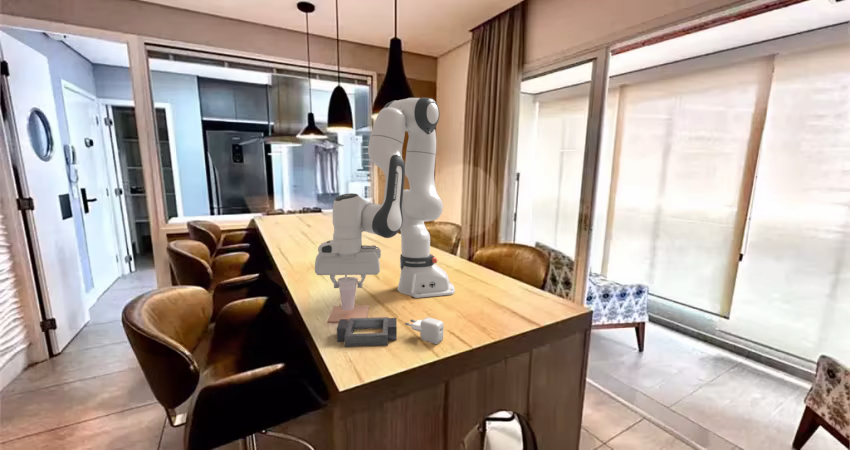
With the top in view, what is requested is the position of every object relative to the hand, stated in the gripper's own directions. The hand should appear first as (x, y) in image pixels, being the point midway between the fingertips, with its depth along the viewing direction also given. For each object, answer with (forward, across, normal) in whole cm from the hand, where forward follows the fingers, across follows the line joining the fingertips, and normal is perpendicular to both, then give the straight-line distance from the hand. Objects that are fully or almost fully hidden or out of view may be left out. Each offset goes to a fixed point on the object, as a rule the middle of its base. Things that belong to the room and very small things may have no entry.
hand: (348, 287), depth 115 cm
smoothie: (+7, 0, +1) cm, 7 cm away
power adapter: (+10, -23, +17) cm, 30 cm away
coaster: (+9, 0, 0) cm, 9 cm away
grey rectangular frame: (+9, -7, +15) cm, 19 cm away
